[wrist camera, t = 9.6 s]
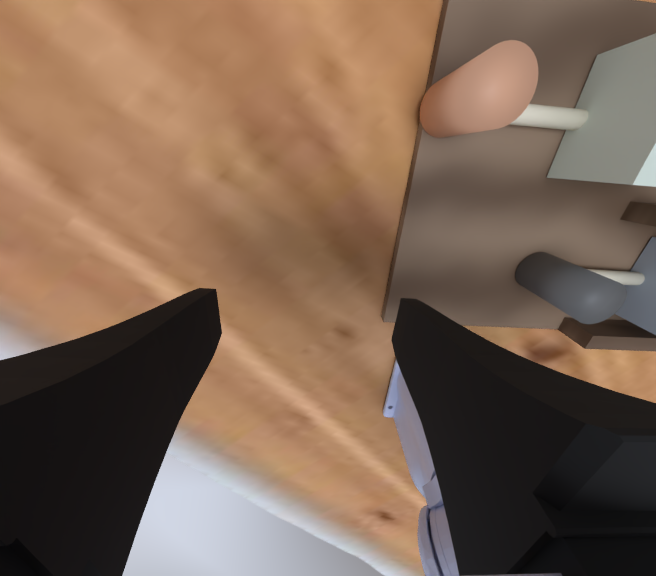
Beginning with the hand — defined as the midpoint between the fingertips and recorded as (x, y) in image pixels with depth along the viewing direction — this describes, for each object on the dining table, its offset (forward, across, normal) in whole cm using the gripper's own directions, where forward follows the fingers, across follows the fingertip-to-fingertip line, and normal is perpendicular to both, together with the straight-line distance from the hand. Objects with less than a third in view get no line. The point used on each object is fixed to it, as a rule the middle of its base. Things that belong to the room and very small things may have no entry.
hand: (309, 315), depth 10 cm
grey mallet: (+8, -23, +1) cm, 24 cm away
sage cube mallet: (+9, -13, -9) cm, 18 cm away
